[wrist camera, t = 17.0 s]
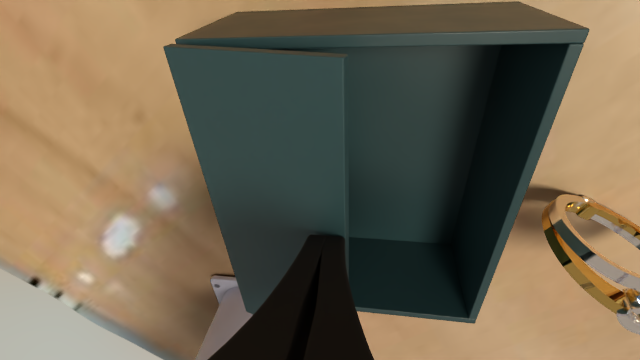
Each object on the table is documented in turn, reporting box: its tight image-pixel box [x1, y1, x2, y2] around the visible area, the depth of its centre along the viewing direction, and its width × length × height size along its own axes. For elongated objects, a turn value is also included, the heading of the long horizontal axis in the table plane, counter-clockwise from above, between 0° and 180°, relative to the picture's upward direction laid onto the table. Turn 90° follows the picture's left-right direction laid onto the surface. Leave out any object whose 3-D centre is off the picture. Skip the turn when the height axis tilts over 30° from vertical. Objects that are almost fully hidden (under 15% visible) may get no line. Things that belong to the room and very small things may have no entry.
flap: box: [164, 44, 349, 314], centre depth 14 cm, size 6×15×1 cm, turn 4°
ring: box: [542, 194, 640, 335], centre depth 16 cm, size 7×3×8 cm, turn 70°
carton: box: [175, 2, 589, 323], centre depth 17 cm, size 13×15×6 cm
